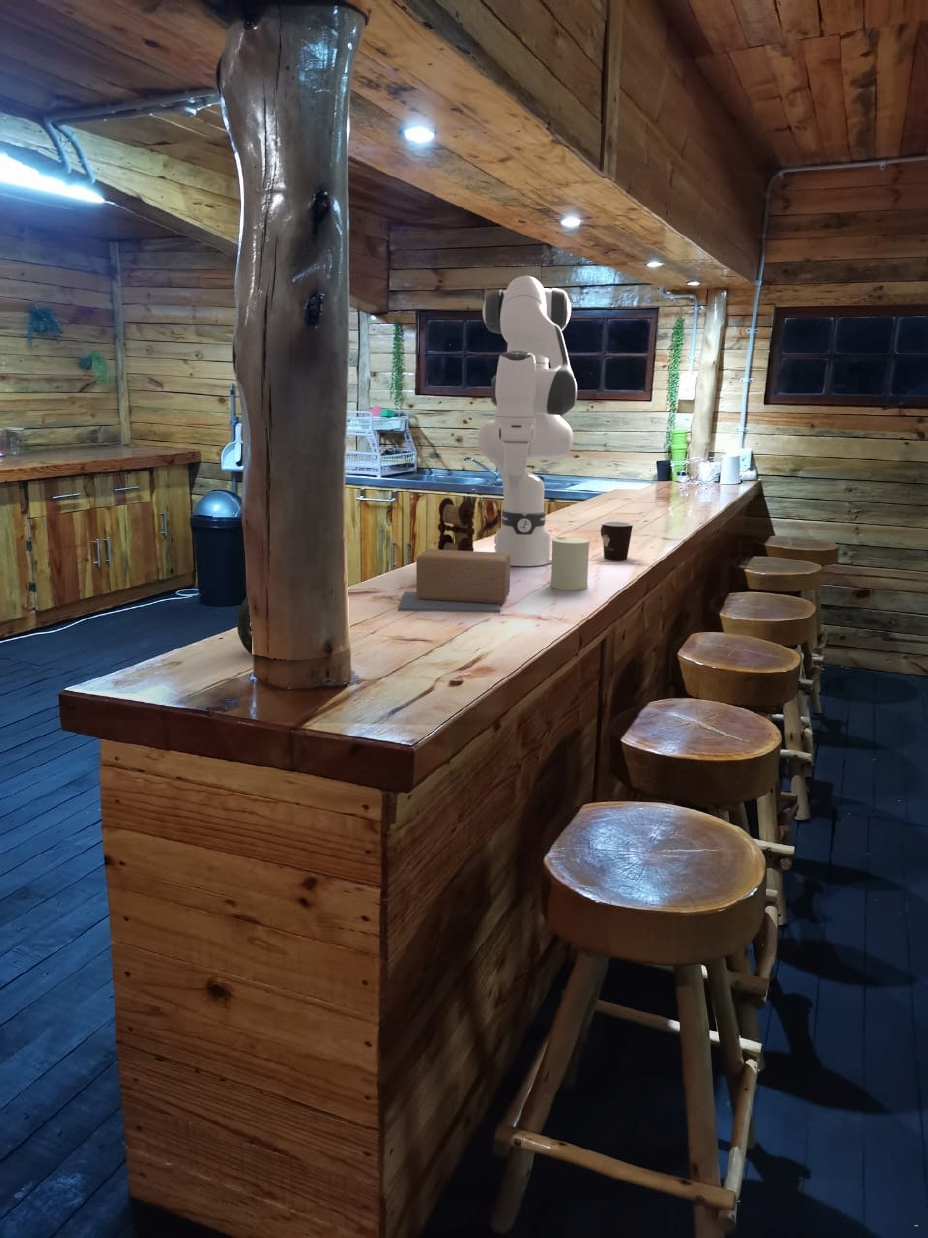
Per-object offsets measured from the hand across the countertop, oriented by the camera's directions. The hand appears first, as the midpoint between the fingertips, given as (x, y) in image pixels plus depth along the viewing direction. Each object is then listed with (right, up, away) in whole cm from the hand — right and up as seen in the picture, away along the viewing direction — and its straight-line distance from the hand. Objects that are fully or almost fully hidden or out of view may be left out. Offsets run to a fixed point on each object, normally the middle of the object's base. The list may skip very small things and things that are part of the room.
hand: (513, 495), depth 195 cm
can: (+15, -19, +24) cm, 34 cm away
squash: (-44, -33, -33) cm, 64 cm away
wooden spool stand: (-13, -17, +32) cm, 39 cm away
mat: (-14, -23, +6) cm, 28 cm away
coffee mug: (+33, -10, +62) cm, 71 cm away
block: (-1, -18, +6) cm, 19 cm away
